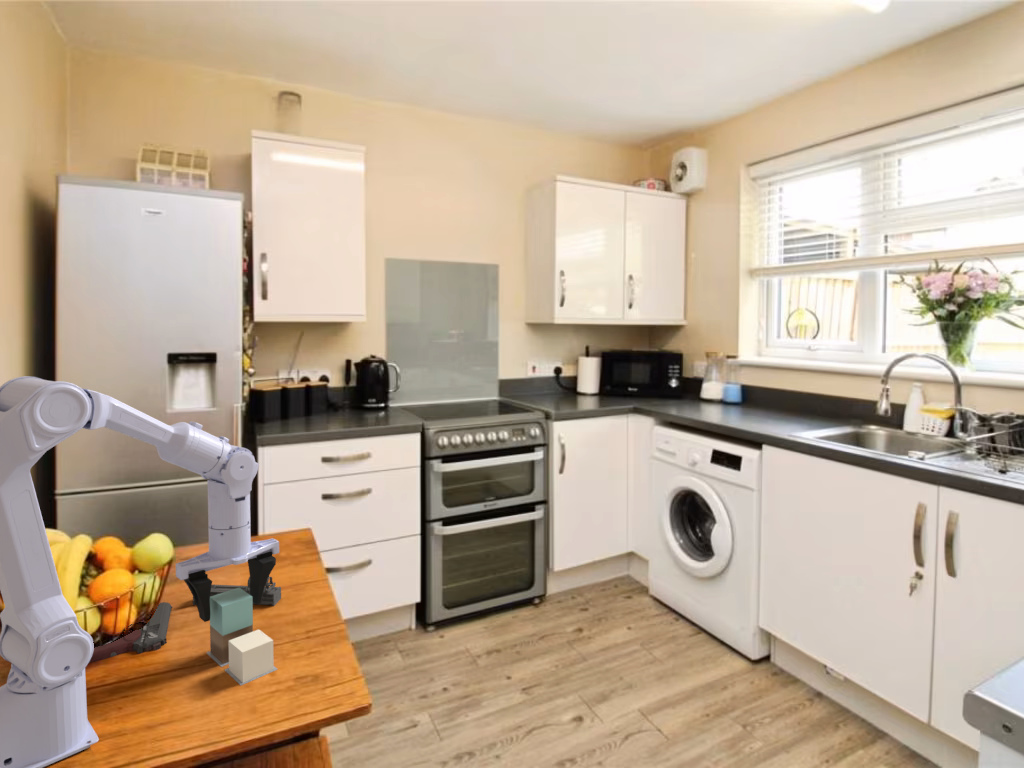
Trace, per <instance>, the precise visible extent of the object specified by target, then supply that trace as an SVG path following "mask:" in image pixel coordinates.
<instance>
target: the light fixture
mask: <svg viewBox="0 0 1024 768" xmlns="http://www.w3.org/2000/svg"><path fill="white" fill-rule="evenodd" d="M236 588H241V589H242V590H244V591H245V592H246V593H248V594H249V595H250V576H249V577H248V580H247V585H231V584H230V585H229V584H212V585H211V591H210V597H211V596H214V595H217V594H220V593H223V592H227V591H230V590H233V589H236ZM281 599H282V587H281V586H276V582H275V581H273V577H272V576H269V577H268V579H267V582H266V585H265V588H264V591H263V595H262V599H261V603H259V604H255V603H254V602H253V605H261V606H262V605H264V606H272V607H275V606H276V605H277V604H278V603H279V601H280V600H281ZM192 606H193V607H194V606H197V605H196V602H195V599H194V597H193V596H192Z"/></svg>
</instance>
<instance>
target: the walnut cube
mask: <svg viewBox="0 0 1024 768" xmlns="http://www.w3.org/2000/svg"><path fill="white" fill-rule="evenodd" d="M253 627H254V624H253V625H251V626H248V627H246V628H243V629H240V630H237V631H235V632H232V633H229V634H226V635H224V636H222V635H221V634H220V633H219V632H218V631H216V630H215V629H214V628H213V627H212V626H210V625H209V633H210V636H209V637H210V638H209V640H210V643H209V644H210V651H211V653H212V654H213V655H214V656H215V657H216V658H217V659H218V660H219V661H220V662H221V663H222V664H225V663H227V662H229V642H228V641H229V640H232V639H234V638H237V637H240V636H242V635H245V634H248V633H250V632H253V631H254V628H253Z"/></svg>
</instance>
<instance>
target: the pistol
mask: <svg viewBox="0 0 1024 768" xmlns="http://www.w3.org/2000/svg"><path fill="white" fill-rule="evenodd" d="M159 603H160V604H159ZM159 603H158V604H159V605H158V604H157V605H158V607H157V606H156V607H157V609H156V608H155V610H156V611H155V610H154V611H155V613H154V615H153V617H152V618H151V619H150V621H149V622H148V623H147V624H145V625H143V628H142V627H140V628H141V629H139V630H135V631H133V632H132V633H130V634H128V635H126V636H124V637H122V638H120V639H118V640H116V641H114V642H112V643H108V644H106V645H103V646H98V647H95V648H94V650H93V654H92V657H91V659H90V661H89V663H88V664H91V663H93V662H98V661H102V660H106V659H109V658H113V657H116V656H119V655H122V654H125V653H129V652H136V653H137V654H143V653H145V652H149V651H157V650H161V648H162V646H164V645H165V644H167V642H168V641H167V634H168V630H169V629H168V628H169V624H170V617H171V613H172V609H173V608H174V607H173V605H171V603H169V602H167V601H166V602H164V601H163V602H159Z"/></svg>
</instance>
